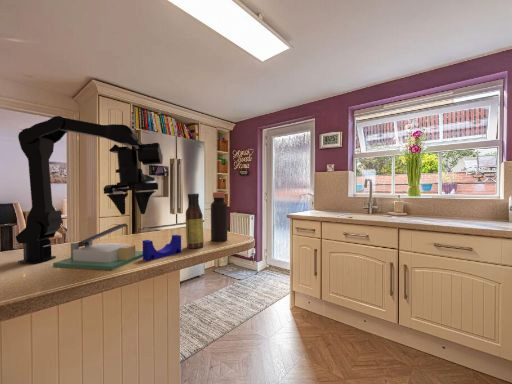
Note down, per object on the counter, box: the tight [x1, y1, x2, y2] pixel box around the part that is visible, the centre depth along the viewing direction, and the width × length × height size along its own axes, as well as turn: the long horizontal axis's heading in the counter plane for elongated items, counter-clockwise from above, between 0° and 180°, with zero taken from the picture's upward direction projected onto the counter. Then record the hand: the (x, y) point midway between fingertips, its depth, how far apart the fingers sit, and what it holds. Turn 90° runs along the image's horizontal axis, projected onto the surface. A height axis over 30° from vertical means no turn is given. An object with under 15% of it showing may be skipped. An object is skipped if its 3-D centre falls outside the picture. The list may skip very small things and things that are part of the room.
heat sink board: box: [52, 241, 143, 271], centre depth 77 cm, size 19×16×6 cm
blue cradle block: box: [142, 234, 182, 262], centre depth 82 cm, size 12×4×6 cm, turn 143°
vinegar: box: [210, 191, 228, 242], centre depth 106 cm, size 7×7×20 cm
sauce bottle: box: [185, 192, 205, 249], centre depth 94 cm, size 6×6×20 cm
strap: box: [77, 223, 128, 248], centre depth 78 cm, size 17×3×1 cm, turn 79°
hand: (133, 214), depth 82 cm, fingers open, 9 cm apart
